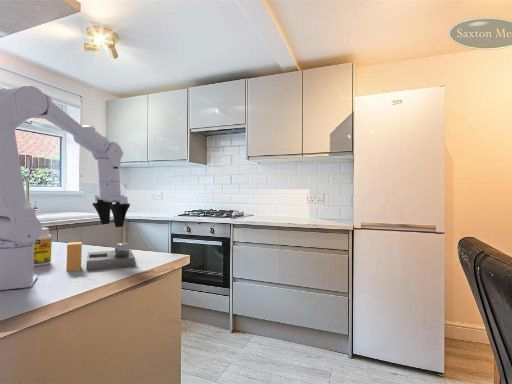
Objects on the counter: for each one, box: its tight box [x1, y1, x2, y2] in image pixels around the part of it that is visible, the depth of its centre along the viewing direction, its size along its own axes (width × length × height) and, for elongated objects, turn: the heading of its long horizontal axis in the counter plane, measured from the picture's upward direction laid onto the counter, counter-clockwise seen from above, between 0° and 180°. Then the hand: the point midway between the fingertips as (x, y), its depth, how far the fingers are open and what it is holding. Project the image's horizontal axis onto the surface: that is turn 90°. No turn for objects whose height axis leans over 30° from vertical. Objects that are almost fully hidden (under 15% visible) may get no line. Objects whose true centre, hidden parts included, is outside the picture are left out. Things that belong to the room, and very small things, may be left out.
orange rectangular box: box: [65, 241, 83, 272], centre depth 79 cm, size 3×3×7 cm
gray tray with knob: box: [85, 242, 136, 271], centre depth 85 cm, size 12×12×6 cm
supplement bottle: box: [33, 227, 53, 267], centre depth 82 cm, size 6×6×10 cm
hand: (112, 225), depth 90 cm, fingers open, 7 cm apart
